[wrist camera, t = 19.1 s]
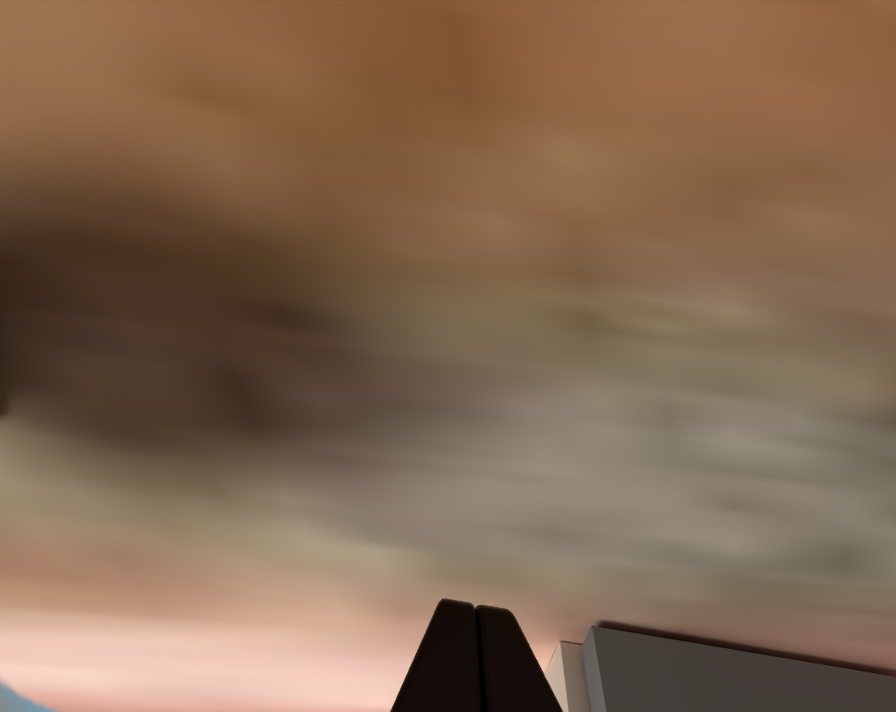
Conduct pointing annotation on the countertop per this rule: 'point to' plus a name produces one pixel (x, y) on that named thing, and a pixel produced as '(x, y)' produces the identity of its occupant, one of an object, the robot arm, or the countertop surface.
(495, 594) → the countertop surface
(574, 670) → the caddy housing
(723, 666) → the tray
